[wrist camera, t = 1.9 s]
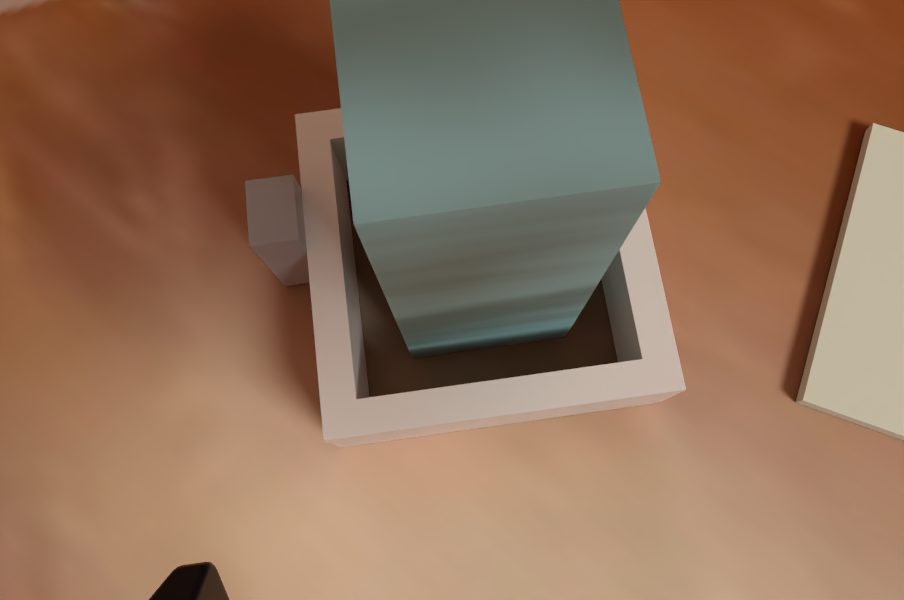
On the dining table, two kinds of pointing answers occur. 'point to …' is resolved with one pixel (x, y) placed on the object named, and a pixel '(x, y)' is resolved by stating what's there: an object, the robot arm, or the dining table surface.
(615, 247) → the post
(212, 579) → the robot arm
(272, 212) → the collar
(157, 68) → the dining table surface
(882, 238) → the mat
